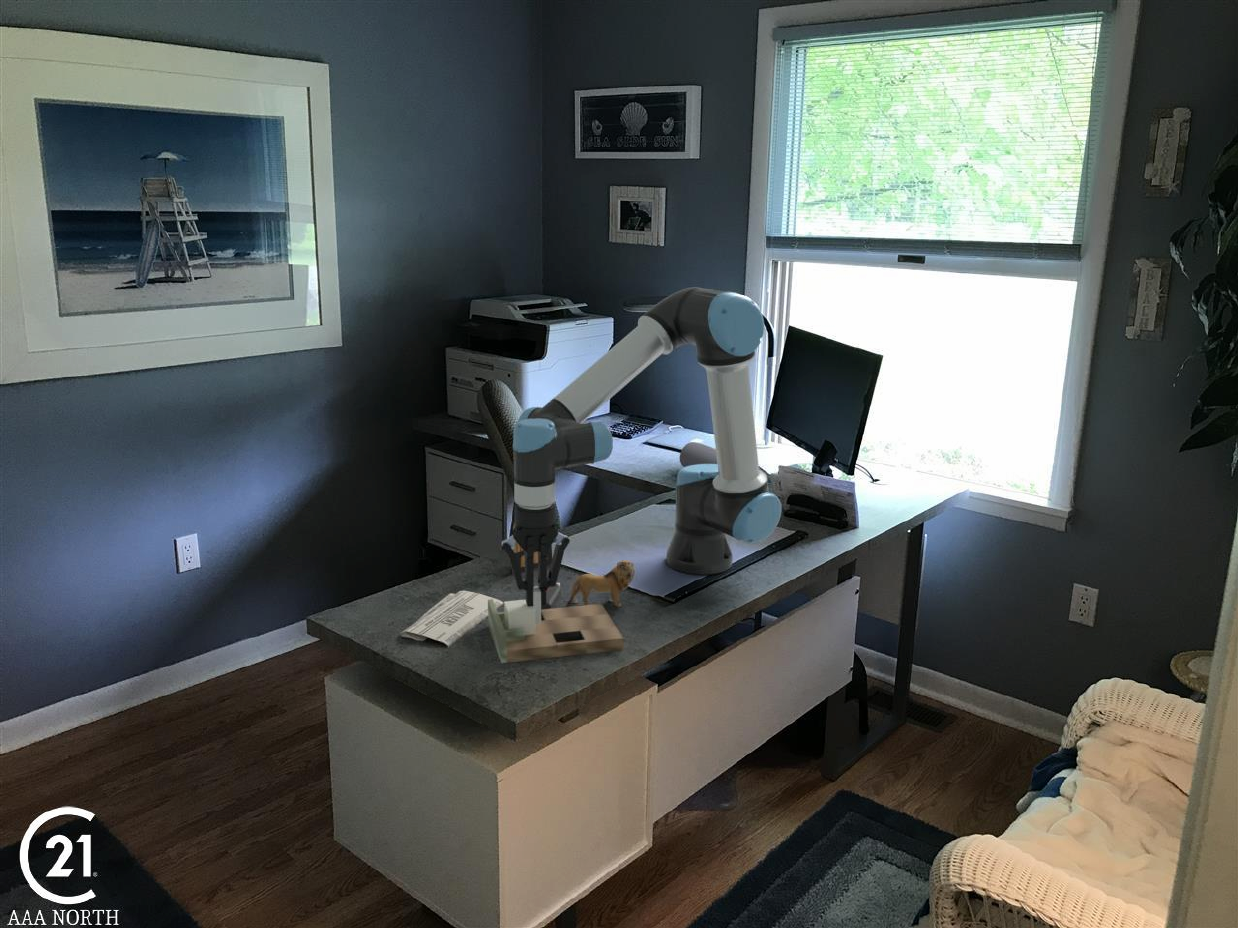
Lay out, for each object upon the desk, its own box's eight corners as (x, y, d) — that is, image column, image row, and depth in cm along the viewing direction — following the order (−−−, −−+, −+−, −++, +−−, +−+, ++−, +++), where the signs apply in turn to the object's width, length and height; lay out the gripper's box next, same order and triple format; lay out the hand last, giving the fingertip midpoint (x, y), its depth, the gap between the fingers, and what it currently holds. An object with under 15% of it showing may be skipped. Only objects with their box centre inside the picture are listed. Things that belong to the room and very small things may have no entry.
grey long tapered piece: (748, 491, 286) (750, 457, 283) (722, 495, 281) (723, 461, 279) (703, 470, 305) (704, 438, 302) (677, 474, 300) (678, 442, 297)
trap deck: (601, 614, 205) (601, 589, 204) (622, 649, 190) (623, 622, 189) (488, 626, 199) (487, 599, 197) (501, 663, 184) (500, 635, 183)
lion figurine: (629, 594, 215) (630, 555, 212) (637, 604, 210) (638, 564, 208) (562, 603, 210) (562, 562, 208) (569, 613, 206) (569, 572, 203)
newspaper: (451, 596, 214) (452, 585, 213) (502, 611, 210) (503, 601, 209) (389, 639, 194) (390, 627, 193) (444, 657, 190) (445, 645, 189)
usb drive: (526, 612, 206) (525, 600, 206) (540, 589, 218) (540, 577, 217) (550, 615, 206) (550, 602, 205) (564, 592, 217) (564, 580, 216)
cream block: (530, 622, 195) (530, 599, 194) (535, 634, 191) (535, 609, 189) (504, 625, 194) (504, 601, 192) (509, 636, 189) (508, 612, 188)
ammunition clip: (515, 574, 224) (514, 523, 221) (510, 572, 226) (509, 521, 222) (552, 563, 231) (552, 513, 228) (547, 560, 233) (547, 511, 229)
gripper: (564, 494, 191) (564, 609, 198) (496, 499, 188) (499, 616, 194) (573, 506, 184) (573, 625, 191) (503, 512, 181) (505, 632, 187)
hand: (536, 620), depth 192 cm, fingers closed
